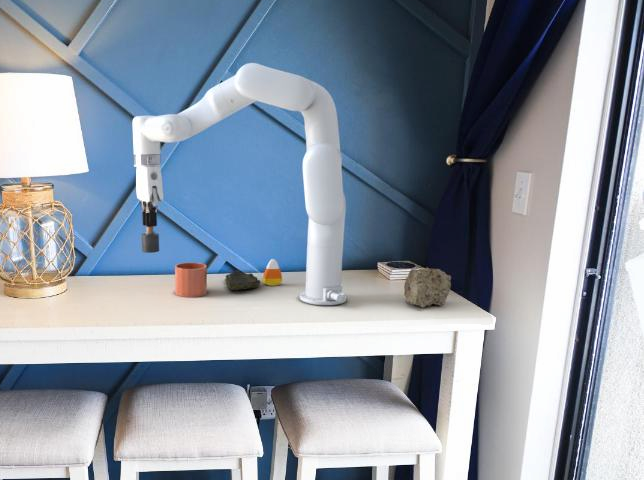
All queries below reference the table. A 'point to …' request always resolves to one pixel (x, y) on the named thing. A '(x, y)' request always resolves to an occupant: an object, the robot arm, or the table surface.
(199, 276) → the tumbler
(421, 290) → the rock
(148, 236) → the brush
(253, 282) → the stone
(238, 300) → the table surface
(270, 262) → the candy corn
